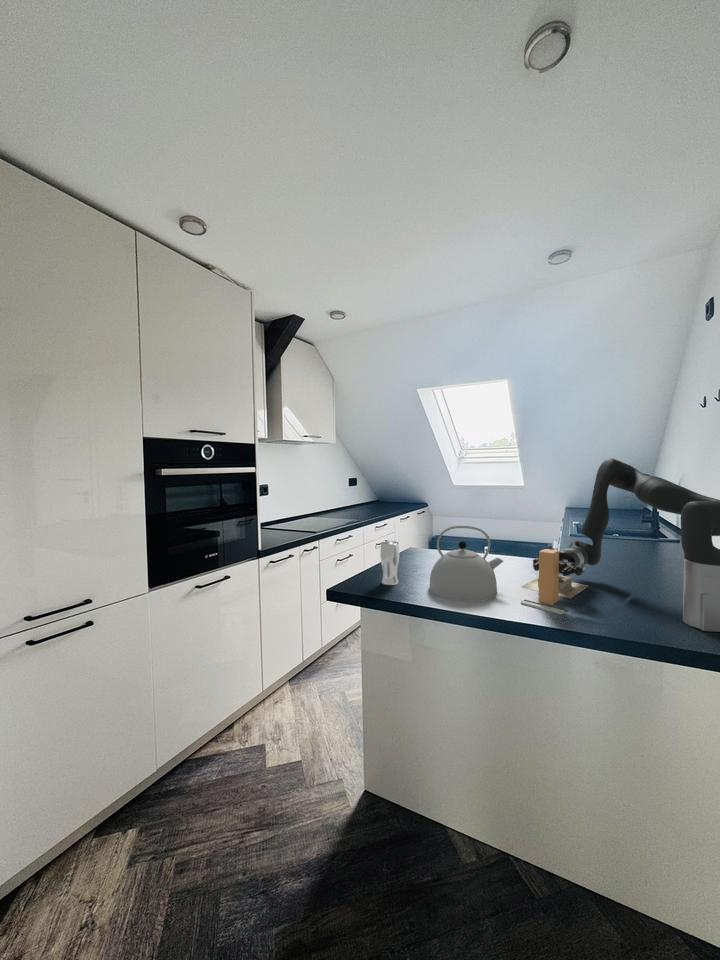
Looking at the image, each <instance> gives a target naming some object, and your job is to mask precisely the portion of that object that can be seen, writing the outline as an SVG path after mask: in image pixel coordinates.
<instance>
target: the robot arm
mask: <svg viewBox="0 0 720 960" xmlns="http://www.w3.org/2000/svg"><path fill="white" fill-rule="evenodd" d="M610 486H612V487H614V488H617V489H619V490H620V489H621V490H624V491H627V492H630V493H632V494H634V495H635V497H636V498H637V499H638V500H639V501H640V502H642V503H643V504H646V506H650V507H651V508H652V509H656V510H659V511H662V512H665V513H666V512H667V513H669V514H670V513H671V514H675V515H680V534H681V535H680V541H681V548H682V551H683V555H684V558H683V586H682V587H683V588H682V589H683V590H682V591H683V595H682V621H683V622H684V623H685V624H686V625H687V626H691V627H693V628H697V629H699V630H701V631H703V632H715V633H717V632H718V633H720V548H718V547H716V546H715V545H714V544H713V537H720V499H717V498H715V497H710V496H707V495H703V494H701V493H698V492H695V491H693V490H690V489H688V488H687V487H684V486H682V485H679V484H677V483H675V482H672V481H669V480H667V479H665V478H662V477H660V476H659V477H658V476H655V475H648V474H645V473H643V472H641V471H639V470H638V469H637V468H635V467H633V466H632V465H631V464H627V463H625V462H623V461H620V460H618V459H617V458H612V457H611V458H607V459H605V460H604V461H602V462H601V464H600V465H599V467H598V469H597V472H596V475H595V480H594V485H593V490H592V496H591V501H590V505H589V510H588V512H587V514H586V518H585V520H584V522H583V524H582V525H583V526H582V528H581V530H580V532H581V535H583V536H585V538H588V539H589V540H591V541H592V544H589V543H587V542H583V541H580V540H573V541H571V543H570V544H569V546H568V548H565V549H562V550H559V574H560V575H562V576H567V577H569V576H570V575H571V576H573V575H574V574H575V575H576V576H577V577H579V576H581V575H582V574H584V573H585V567H586V566H585V565H586V564H587V565H589V566H596V565H598V564H599V563H600V561H601V559H602V542H603V538H604V535H605V533H606V531H607V526H608V524H609V521H610V510H609V503H608V489H609V487H610ZM532 568H533V570H534V571H536V572H539V557H536V558H534V559H532Z"/></svg>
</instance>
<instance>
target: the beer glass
mask: <svg viewBox="0 0 720 960" xmlns="http://www.w3.org/2000/svg"><path fill="white" fill-rule="evenodd" d="M379 554H380V564H381V567H382V579H381V584H382V585H385V586H396V585H398V584H399V578H398V568H399V563H400V545H399V542H398V541H394V540H385V541H381V542H380V551H379Z"/></svg>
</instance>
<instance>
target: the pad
mask: <svg viewBox="0 0 720 960" xmlns="http://www.w3.org/2000/svg"><path fill="white" fill-rule="evenodd" d="M520 604H521V605H524V606H528V607H532V608H536V609H538V610H541V611H542V610H543V611H546V612H549V613H553V614H554V613H555V614H558V615H561V616H562V615H564V614H565V613H566V612H568V610H567V609H563V608H560V607H556V606H553V605H549V604H545V603H541V602H536V601H532V600H527V599H524V600H522V601H520Z"/></svg>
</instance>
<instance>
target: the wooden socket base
mask: <svg viewBox="0 0 720 960" xmlns="http://www.w3.org/2000/svg"><path fill="white" fill-rule="evenodd" d="M572 579H573V578H572V576H563V574H559V597H563V598H567V599H572V598H573V597H575V596H577V595H578V594H579V593H581V592H582V591H584V590H585V589H587V588H588V587H589V586H590V585H587V584H585V583H583V584H582V583H578V582H573V581H572ZM520 588H522V589H528V590H531V591H536V592H539V577H538V578H535V579H534V580H532V581H529V582H527V583H526V584H523V585H521V586H520Z"/></svg>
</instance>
